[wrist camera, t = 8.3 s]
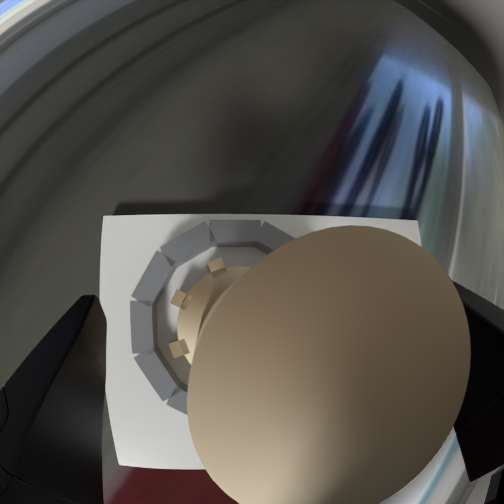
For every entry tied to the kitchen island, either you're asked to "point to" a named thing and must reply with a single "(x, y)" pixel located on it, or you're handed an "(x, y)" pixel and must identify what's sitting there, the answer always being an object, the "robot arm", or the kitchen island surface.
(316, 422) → the disc
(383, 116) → the kitchen island surface
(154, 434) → the gear board
